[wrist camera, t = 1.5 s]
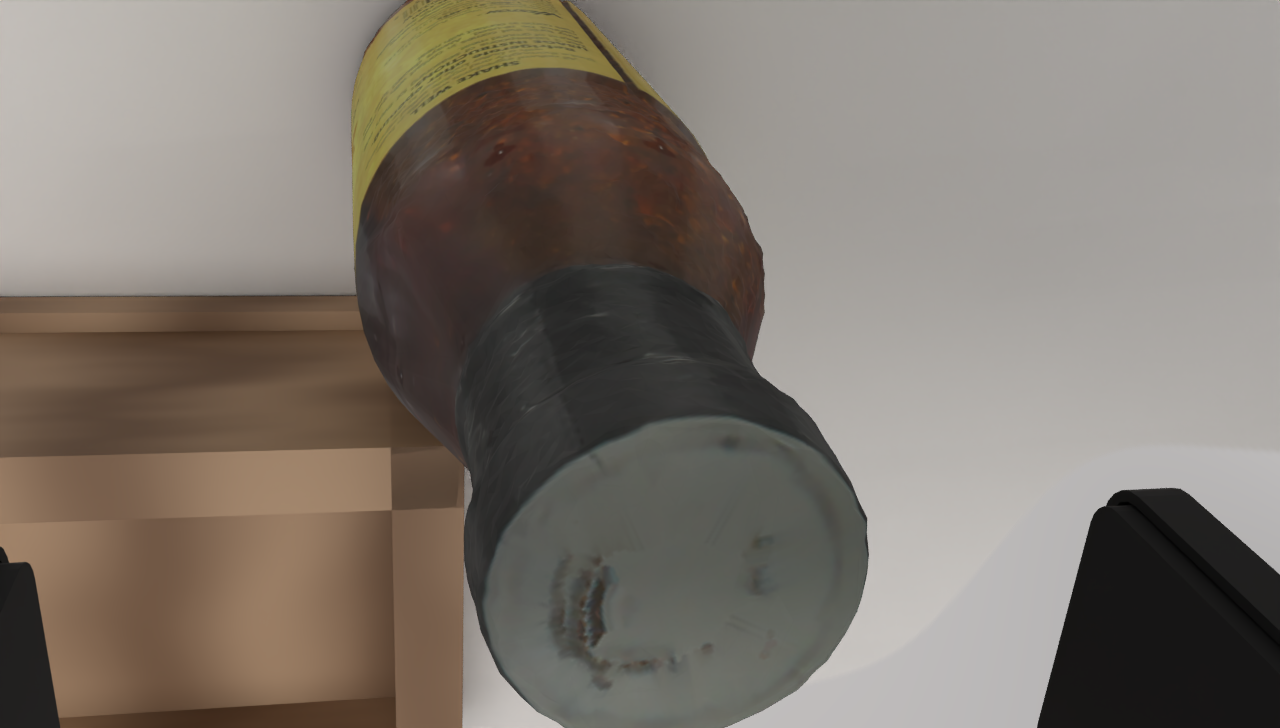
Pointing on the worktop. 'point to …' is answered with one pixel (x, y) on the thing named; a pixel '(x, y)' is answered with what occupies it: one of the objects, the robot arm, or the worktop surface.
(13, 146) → the worktop surface
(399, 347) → the sauce bottle
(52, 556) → the u rest
